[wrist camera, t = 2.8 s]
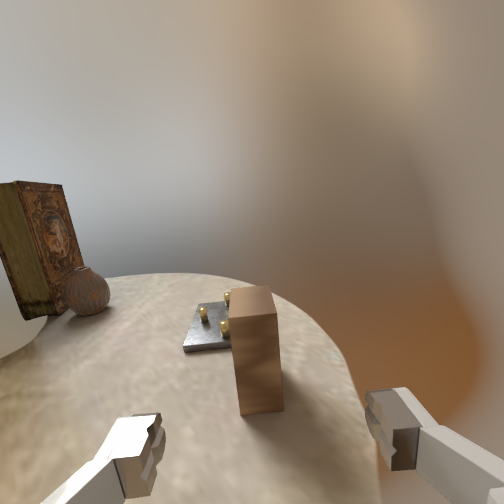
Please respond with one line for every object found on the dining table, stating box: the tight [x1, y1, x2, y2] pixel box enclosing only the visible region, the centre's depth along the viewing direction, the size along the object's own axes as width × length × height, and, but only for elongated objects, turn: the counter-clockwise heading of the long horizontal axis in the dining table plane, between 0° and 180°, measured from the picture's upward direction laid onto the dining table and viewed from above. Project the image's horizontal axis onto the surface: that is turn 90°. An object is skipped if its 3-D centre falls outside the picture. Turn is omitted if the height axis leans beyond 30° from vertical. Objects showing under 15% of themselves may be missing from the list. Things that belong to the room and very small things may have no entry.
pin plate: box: [183, 292, 232, 352], centre depth 37 cm, size 11×12×3 cm
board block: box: [228, 285, 284, 416], centre depth 23 cm, size 4×6×10 cm, turn 2°
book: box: [0, 181, 85, 321], centre depth 49 cm, size 16×6×25 cm, turn 14°
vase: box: [66, 266, 110, 316], centre depth 45 cm, size 7×7×9 cm
